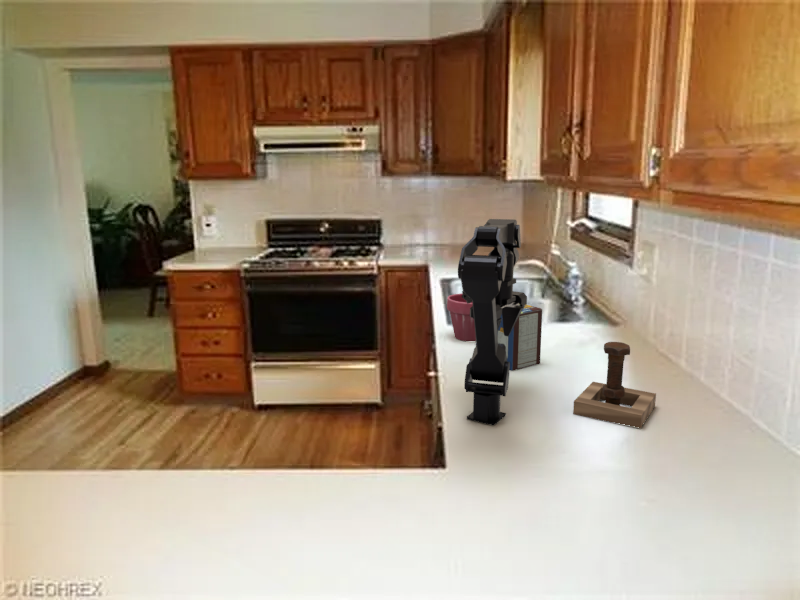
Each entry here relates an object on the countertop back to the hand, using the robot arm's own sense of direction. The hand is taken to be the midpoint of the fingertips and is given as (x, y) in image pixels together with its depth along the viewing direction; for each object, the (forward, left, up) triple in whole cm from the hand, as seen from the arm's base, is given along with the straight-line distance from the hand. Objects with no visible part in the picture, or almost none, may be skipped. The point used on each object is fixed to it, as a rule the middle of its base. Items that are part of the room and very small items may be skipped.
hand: (498, 340), depth 141 cm
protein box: (+24, +8, -13) cm, 29 cm away
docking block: (+5, -26, -13) cm, 29 cm away
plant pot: (+38, +26, -13) cm, 48 cm away
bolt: (+5, -26, -13) cm, 29 cm away
